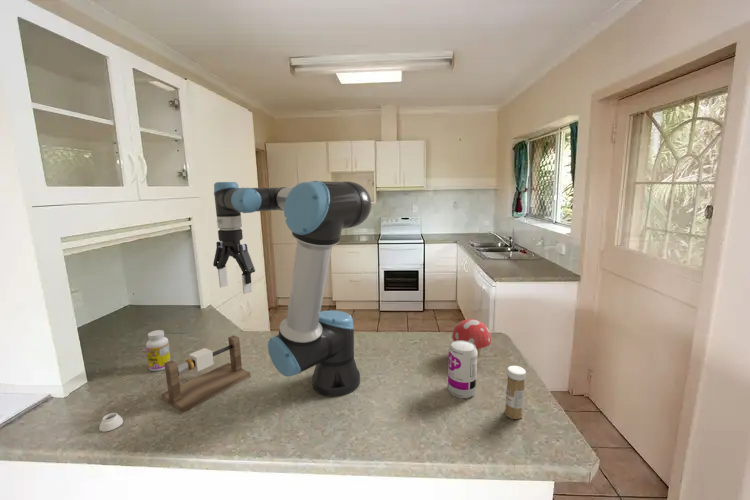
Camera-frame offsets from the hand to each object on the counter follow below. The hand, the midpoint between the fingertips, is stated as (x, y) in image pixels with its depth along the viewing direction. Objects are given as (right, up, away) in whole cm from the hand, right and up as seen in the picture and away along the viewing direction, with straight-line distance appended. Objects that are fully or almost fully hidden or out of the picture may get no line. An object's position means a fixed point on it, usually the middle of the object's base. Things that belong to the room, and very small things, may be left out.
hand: (235, 289), depth 119 cm
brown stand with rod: (-4, -29, -11) cm, 32 cm away
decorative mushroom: (+83, -26, +4) cm, 87 cm away
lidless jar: (-21, -33, -28) cm, 48 cm away
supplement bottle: (-27, -27, +1) cm, 38 cm away
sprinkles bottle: (+86, -31, -26) cm, 95 cm away
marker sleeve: (-5, -22, -14) cm, 26 cm away
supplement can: (+75, -29, -15) cm, 82 cm away
